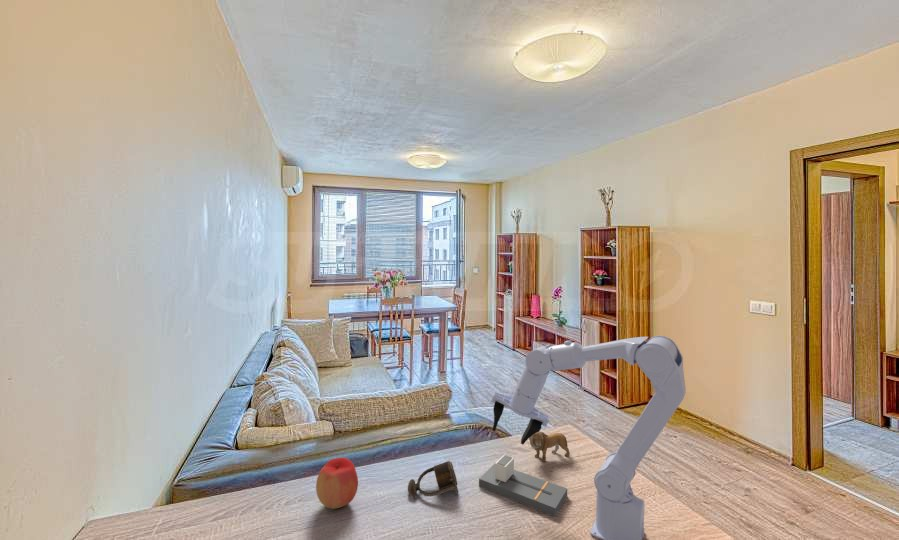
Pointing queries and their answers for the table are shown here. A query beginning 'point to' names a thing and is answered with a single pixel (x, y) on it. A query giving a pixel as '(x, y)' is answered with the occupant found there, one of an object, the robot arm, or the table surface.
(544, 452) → the lion figurine
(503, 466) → the fader knob
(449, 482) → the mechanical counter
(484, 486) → the fader console
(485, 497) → the table surface
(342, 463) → the apple
